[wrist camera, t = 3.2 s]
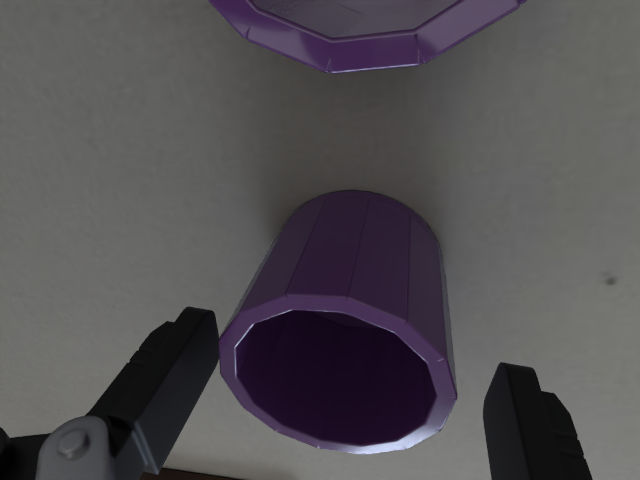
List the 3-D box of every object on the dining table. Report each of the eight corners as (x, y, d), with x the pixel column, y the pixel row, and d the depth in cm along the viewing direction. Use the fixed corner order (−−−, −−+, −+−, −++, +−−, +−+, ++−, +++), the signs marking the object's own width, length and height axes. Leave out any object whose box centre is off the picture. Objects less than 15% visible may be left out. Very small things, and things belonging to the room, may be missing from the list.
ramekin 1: (244, 232, 15) (171, 337, 11) (395, 157, 12) (382, 257, 8) (329, 340, 17) (298, 464, 13) (472, 298, 14) (496, 437, 10)
